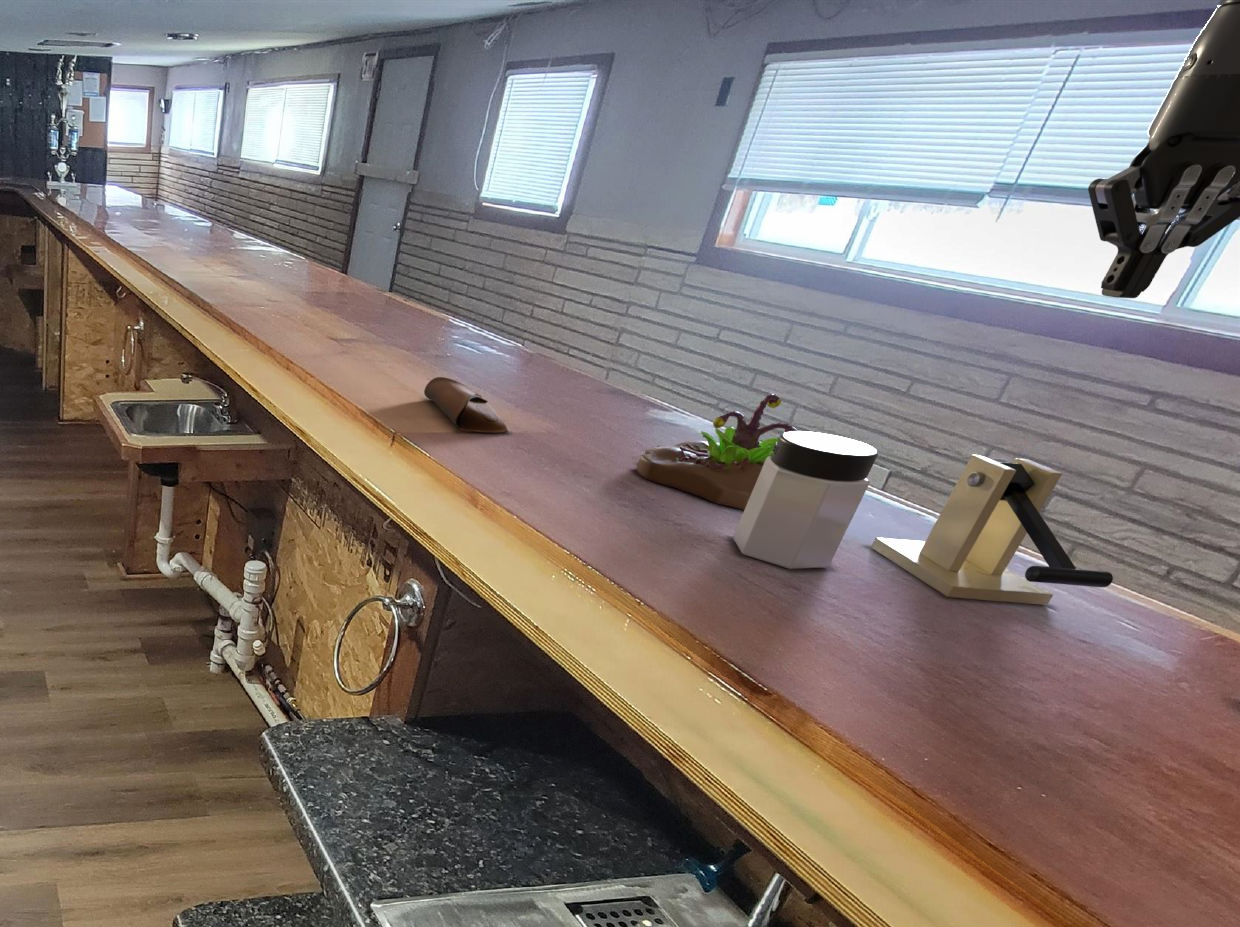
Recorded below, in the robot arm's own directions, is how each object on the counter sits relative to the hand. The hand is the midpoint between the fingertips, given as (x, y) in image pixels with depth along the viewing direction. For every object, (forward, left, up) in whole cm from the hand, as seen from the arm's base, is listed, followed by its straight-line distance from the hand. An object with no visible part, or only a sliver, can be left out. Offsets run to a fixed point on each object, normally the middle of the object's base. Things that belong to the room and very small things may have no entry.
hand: (1118, 296), depth 81 cm
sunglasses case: (+42, -45, -27) cm, 67 cm away
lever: (+4, +9, -20) cm, 22 cm away
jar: (+20, +2, -27) cm, 34 cm away
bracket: (+4, +4, -27) cm, 27 cm away
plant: (+14, -21, -27) cm, 37 cm away
